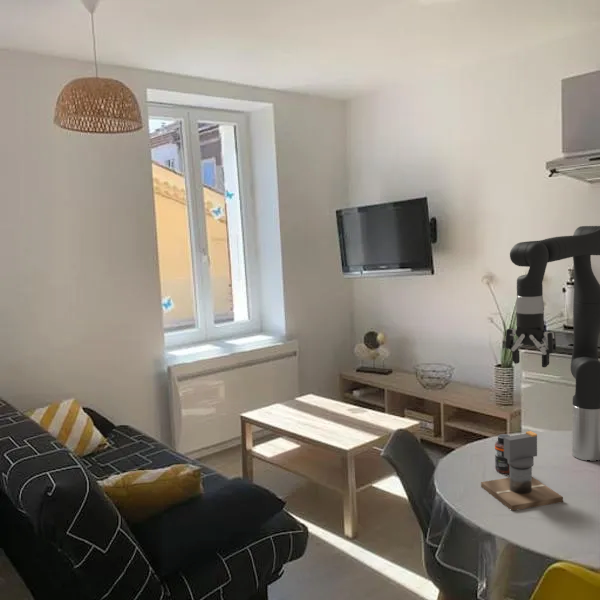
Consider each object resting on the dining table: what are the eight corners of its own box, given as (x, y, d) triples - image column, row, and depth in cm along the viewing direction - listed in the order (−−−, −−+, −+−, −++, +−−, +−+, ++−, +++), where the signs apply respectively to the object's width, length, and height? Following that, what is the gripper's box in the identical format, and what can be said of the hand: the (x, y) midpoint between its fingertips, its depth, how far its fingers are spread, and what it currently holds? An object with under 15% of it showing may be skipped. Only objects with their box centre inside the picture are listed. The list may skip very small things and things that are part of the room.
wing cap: (514, 470, 168) (514, 441, 167) (499, 461, 175) (499, 433, 174) (541, 465, 170) (541, 436, 169) (526, 456, 177) (526, 428, 176)
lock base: (528, 479, 183) (528, 450, 182) (562, 501, 168) (563, 471, 167) (481, 486, 180) (480, 458, 178) (511, 510, 164) (511, 479, 163)
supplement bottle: (515, 467, 192) (514, 433, 191) (515, 475, 186) (514, 440, 185) (495, 466, 194) (495, 432, 193) (495, 473, 188) (494, 438, 187)
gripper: (500, 311, 178) (501, 364, 180) (548, 314, 168) (548, 370, 170) (512, 307, 183) (513, 359, 185) (559, 310, 173) (560, 365, 175)
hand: (530, 365), depth 178 cm, fingers open, 8 cm apart
